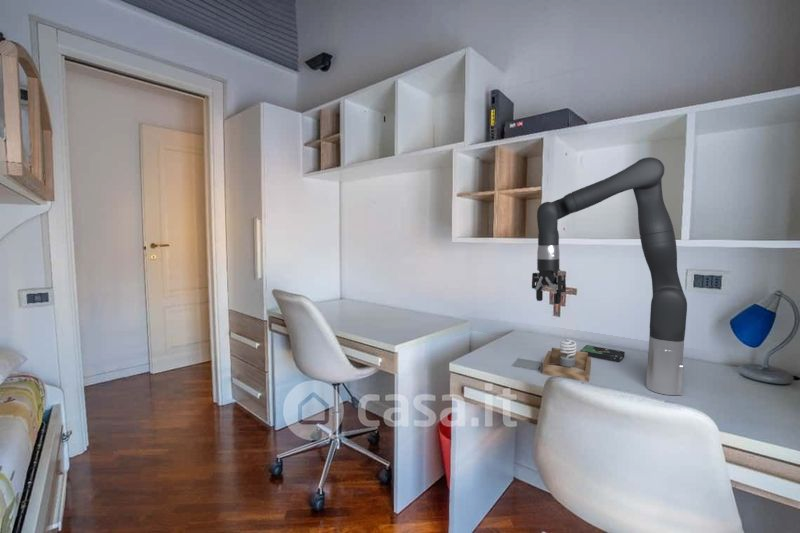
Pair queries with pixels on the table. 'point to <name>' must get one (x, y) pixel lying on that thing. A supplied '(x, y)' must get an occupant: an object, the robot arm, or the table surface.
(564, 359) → the light bulb
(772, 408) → the table surface
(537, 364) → the slate mat
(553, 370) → the wooden frame
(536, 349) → the table surface
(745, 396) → the table surface
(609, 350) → the disk drive
